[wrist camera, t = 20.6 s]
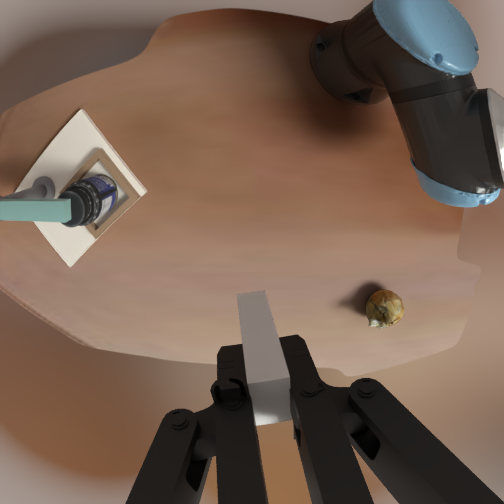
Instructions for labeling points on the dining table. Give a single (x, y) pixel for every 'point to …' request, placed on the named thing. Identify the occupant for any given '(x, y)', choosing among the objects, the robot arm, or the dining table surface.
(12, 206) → the keeper arm
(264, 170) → the dining table surface
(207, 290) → the dining table surface
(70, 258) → the base board
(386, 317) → the onion
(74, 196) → the pill bottle
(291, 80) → the dining table surface
